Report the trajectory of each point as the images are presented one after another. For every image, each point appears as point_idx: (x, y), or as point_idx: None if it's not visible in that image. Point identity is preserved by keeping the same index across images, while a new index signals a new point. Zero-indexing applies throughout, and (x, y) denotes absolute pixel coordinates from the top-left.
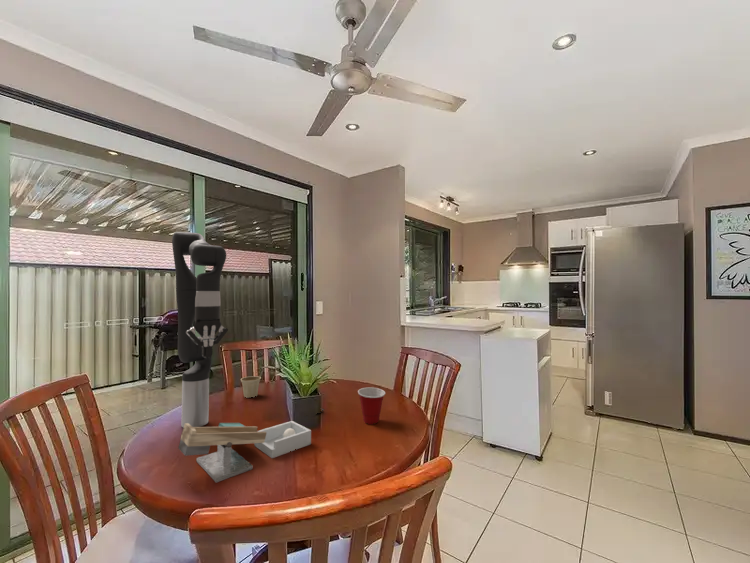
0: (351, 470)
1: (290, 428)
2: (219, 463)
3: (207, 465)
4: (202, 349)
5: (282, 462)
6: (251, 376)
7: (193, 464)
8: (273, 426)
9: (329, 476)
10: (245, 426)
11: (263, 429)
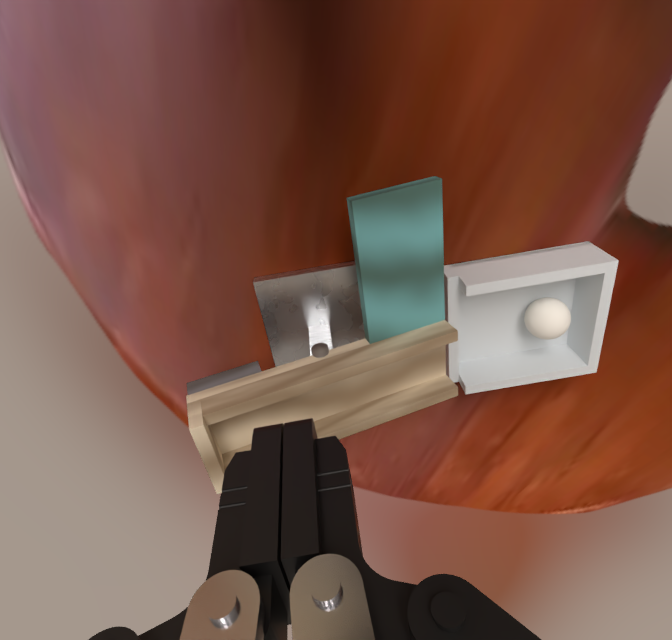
0: (540, 485)
1: (561, 327)
2: (309, 350)
3: (278, 345)
4: (221, 554)
5: (452, 398)
6: None
7: (244, 291)
8: (532, 276)
9: (493, 484)
10: (416, 346)
11: (489, 284)
